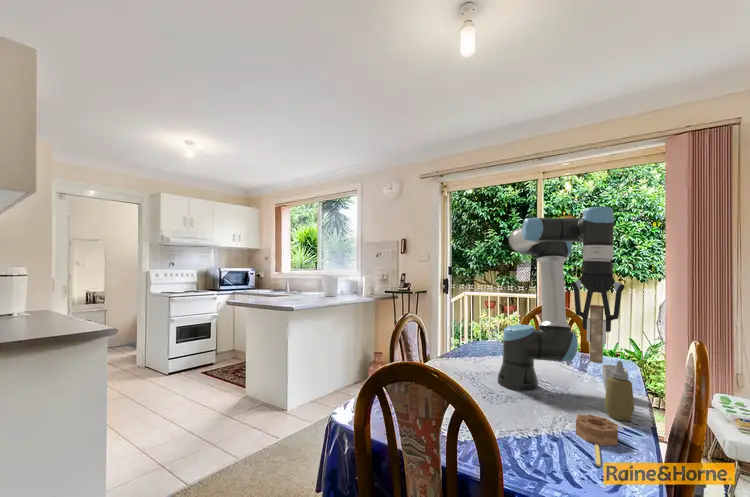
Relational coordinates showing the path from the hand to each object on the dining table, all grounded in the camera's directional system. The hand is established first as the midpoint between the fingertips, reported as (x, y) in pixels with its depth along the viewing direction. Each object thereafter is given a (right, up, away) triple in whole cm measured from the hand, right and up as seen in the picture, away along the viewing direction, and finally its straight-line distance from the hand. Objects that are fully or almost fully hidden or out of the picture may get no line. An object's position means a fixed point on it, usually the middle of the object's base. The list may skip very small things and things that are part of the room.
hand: (596, 341), depth 105 cm
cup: (+27, -29, +34) cm, 52 cm away
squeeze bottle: (+15, -28, +13) cm, 34 cm away
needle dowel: (0, -6, 0) cm, 6 cm away
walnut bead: (0, -27, -1) cm, 27 cm away
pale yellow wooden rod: (-7, -26, -11) cm, 29 cm away
